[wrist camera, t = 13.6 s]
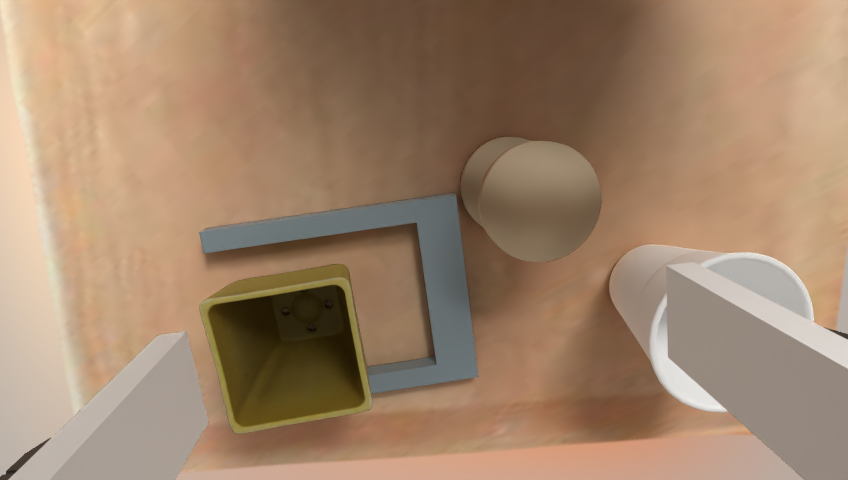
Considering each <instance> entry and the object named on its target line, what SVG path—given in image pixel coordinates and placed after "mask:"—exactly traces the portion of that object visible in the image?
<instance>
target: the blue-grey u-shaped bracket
mask: <svg viewBox="0 0 848 480" xmlns="http://www.w3.org/2000/svg"><path fill="white" fill-rule="evenodd" d="M410 223H416V224H417V231H418V238H419V245H420V252H421V260H422V267H423V274H424V281H425V288H426V295H427V302H428V310H429V317H430V324H431V331H432V338H433V345H434V352H435V357H429V358H422V359H416V360H409V361H403V362H396V363H390V364H383V365H377V366H371V367H367V370H368V377H369V383H370V389H371V394H373V393H379V392H385V391H392V390H398V389H405V388H411V387H417V386H424V385H430V384H436V383H443V382H449V381H456V380H462V379H468V378H475V377H478V370H477V362H476V353H475V345H474V337H473V329H472V321H471V313H470V304H469V296H468V288H467V280H466V272H465V264H464V255H463V247H462V239H461V231H460V223H459V215H458V206H457V198H456V195H455V194H454V193H449V194H442V195H435V196H428V197H421V198H414V199H407V200H400V201H393V202H386V203H379V204H372V205H365V206H358V207H351V208H344V209H337V210H330V211H324V212H317V213H310V214H303V215H296V216H289V217H282V218H275V219H268V220H261V221H254V222H247V223H240V224H233V225H226V226H219V227H212V228H206V229H204V230H203V231H201V232H199V233H200V238H201V242H202V247H203V251H204V253H210V252H217V251H224V250H231V249H238V248H244V247H251V246H258V245H265V244H272V243H279V242H286V241H293V240H299V239H306V238H313V237H320V236H327V235H334V234H341V233H348V232H355V231H361V230H368V229H375V228H382V227H389V226H396V225H403V224H410Z"/></svg>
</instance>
